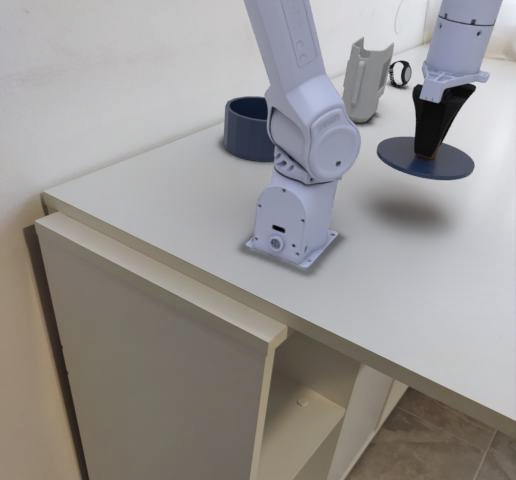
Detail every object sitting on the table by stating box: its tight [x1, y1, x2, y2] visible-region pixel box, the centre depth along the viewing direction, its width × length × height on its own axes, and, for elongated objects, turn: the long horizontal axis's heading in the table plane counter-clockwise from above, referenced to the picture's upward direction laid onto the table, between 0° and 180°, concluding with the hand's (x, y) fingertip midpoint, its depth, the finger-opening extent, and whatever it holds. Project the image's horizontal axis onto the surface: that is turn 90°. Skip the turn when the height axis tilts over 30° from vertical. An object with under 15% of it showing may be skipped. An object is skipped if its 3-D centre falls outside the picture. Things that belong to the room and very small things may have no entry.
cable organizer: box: [341, 36, 395, 123], centre depth 96 cm, size 7×12×12 cm, turn 157°
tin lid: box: [376, 136, 476, 181], centre depth 63 cm, size 12×12×5 cm
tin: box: [222, 95, 275, 162], centre depth 82 cm, size 11×11×6 cm
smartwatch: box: [388, 60, 413, 88], centre depth 115 cm, size 4×5×5 cm
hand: (426, 150), depth 64 cm, fingers closed on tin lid, 2 cm apart
